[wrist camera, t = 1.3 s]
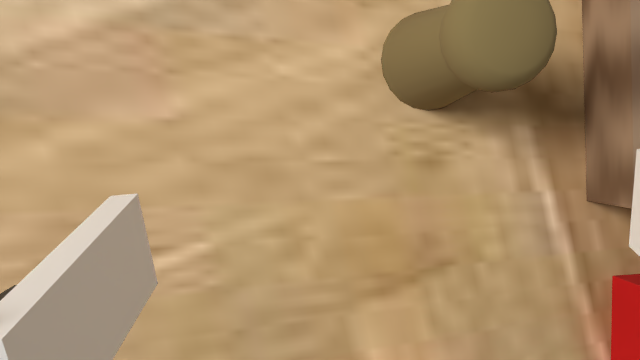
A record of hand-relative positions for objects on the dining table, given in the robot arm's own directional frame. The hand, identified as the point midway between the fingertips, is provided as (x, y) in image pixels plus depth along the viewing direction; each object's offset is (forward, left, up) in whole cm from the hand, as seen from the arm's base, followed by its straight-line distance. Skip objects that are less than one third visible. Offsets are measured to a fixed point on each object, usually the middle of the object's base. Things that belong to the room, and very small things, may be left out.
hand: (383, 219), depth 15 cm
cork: (+6, -9, -20) cm, 23 cm away
